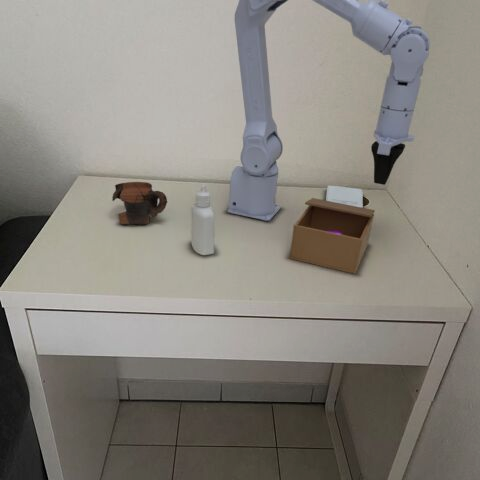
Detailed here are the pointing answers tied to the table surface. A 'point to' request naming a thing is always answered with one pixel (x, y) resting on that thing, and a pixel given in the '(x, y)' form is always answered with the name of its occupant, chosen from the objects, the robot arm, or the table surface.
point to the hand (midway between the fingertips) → (380, 182)
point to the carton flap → (340, 207)
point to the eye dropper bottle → (203, 223)
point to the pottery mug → (139, 202)
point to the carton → (330, 238)
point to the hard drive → (345, 195)
